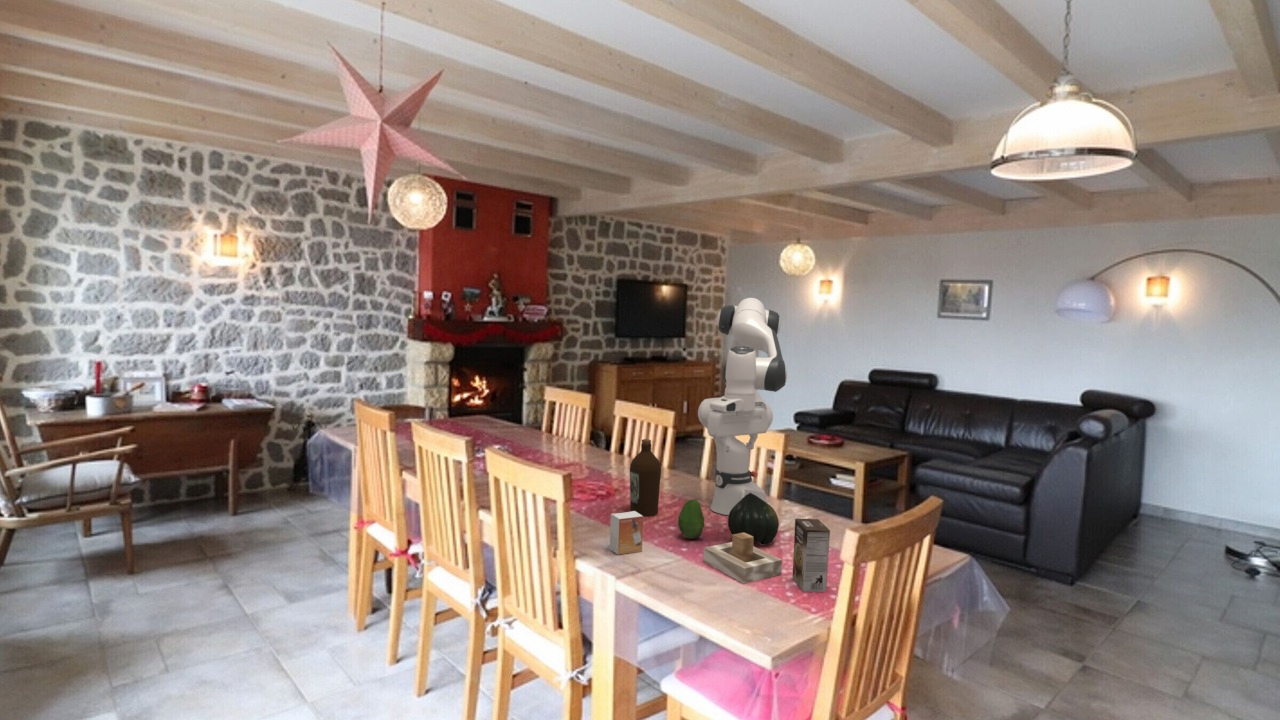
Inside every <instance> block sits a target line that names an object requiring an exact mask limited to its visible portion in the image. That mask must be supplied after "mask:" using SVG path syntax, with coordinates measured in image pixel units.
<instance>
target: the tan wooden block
mask: <svg viewBox="0 0 1280 720" xmlns="http://www.w3.org/2000/svg"><path fill="white" fill-rule="evenodd" d="M731 537H732V541H731V542H732V556H734V557H736V558H738V559H740V560H742V561H744V562H751V561H753V547H754V542H755V541H754V537H753V536H751V535H748V534H746V533H738V534H733V536H731ZM753 541H754V542H753Z"/></svg>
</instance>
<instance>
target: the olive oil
mask: <svg viewBox="0 0 1280 720" xmlns="http://www.w3.org/2000/svg"><path fill="white" fill-rule="evenodd" d="M640 446H641V447H640V449H641V450H640V451H639V452H638V454H637V455H636V456H634V458H632V460H631V462H630V466H629V490H630V491H629V492H630V493H629V496H630V497H629V499H630V503H629V505H630V506H629V512H632V511H636V512H637V513H639V514H641V515H642V516H643V518H645V517H646V518H647V517H654V516H656V515H657V514H658V513H659V503H660V502H659V501H660V500H659V499H660V488H661V487H660V486H661V478H662V477H661V476H662V465H661V462H660V460H659V459H658V458H657V456H656V455H655V454H654V453H653V452H652V440H651V439H648V438H647V439H646V438H644V439H641V445H640Z"/></svg>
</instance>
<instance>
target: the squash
mask: <svg viewBox="0 0 1280 720" xmlns="http://www.w3.org/2000/svg"><path fill="white" fill-rule="evenodd" d="M767 503H768V502H767V501H766V502H765V501H763V500H762V499H760V498H759V497H757V496H756V495H754V494H752V493H749V494H747V495H746V496H745V497H743V498H742V499H741V500H740V501H739V502H738V503H737V504H736V505H735V506H734V507H733V508H732V509H731V511H730V513H729V515H728V518H727V526H728V529H729V533H730V534H731V535H732V536H731V537H733V534H738V533H746V534H748V535H751V536H753V537H754V541H753V543H758V544H759V545H762V546H768V545H771V544H772V542H773V541H774V540H775V538H776V536H777V534H778V532H779V528H780V527H779V525H780V522H779V521H780V520H779V517H778V514H777V512H776V511H775V508H774V507H773V506H772V507H773V508H772V507H771V506H770V505H771V504H770V503H768V504H767ZM769 504H770V505H769Z"/></svg>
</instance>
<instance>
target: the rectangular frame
mask: <svg viewBox="0 0 1280 720" xmlns="http://www.w3.org/2000/svg"><path fill="white" fill-rule="evenodd" d="M702 562H703V563H705V564H707V565H709V566H710V567H712V568H714V569H716V570H718V571H719V572H721V573H724V574H725V575H727V576H729V577H731V578H733V579H734V580H736V581H738V582H740V583H741V584H748V583H751V582H752V583H753V582H757V581H761V580H764V579H769V578H772V577H777V576H781V575H782V571H783V570H782V568H783V567H782V565H783V560H782V559H781V558H779V557H777V556H775V555H772V553H771V554H770V553H768V552H767V551H764V550H761V549H759V548H758V547H755V546H753V561H751V562H744V561H742V560H740V559H738V558H736V557H734V556H732V541H731V542H725V543H720V544H716V545H710V546H706V547H704V548H703V561H702Z"/></svg>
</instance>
